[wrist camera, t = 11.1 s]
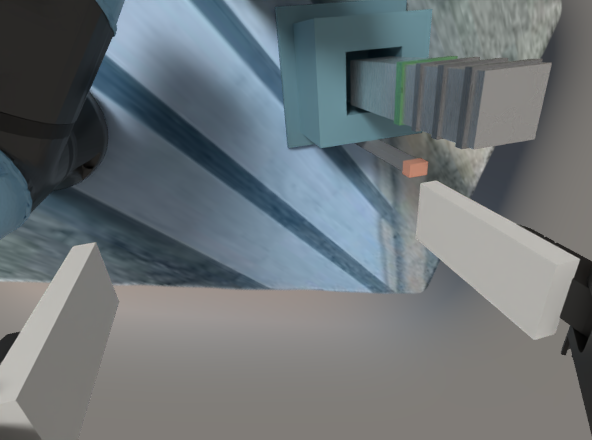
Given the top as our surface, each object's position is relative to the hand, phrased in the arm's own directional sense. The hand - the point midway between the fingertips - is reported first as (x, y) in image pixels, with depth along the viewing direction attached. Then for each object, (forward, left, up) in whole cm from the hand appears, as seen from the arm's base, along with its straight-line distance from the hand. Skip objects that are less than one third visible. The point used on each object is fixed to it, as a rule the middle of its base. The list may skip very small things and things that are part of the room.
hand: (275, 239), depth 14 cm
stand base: (+18, +2, -39) cm, 43 cm away
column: (+18, +2, -30) cm, 35 cm away
